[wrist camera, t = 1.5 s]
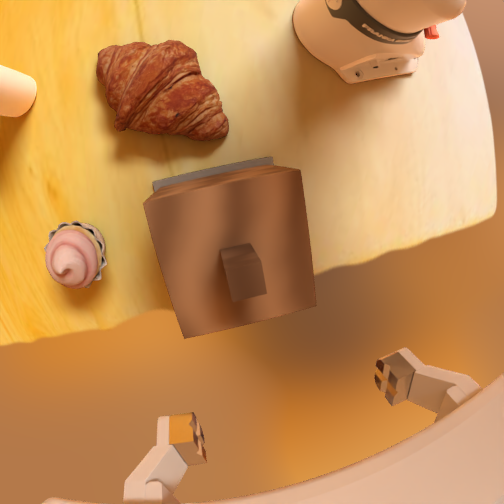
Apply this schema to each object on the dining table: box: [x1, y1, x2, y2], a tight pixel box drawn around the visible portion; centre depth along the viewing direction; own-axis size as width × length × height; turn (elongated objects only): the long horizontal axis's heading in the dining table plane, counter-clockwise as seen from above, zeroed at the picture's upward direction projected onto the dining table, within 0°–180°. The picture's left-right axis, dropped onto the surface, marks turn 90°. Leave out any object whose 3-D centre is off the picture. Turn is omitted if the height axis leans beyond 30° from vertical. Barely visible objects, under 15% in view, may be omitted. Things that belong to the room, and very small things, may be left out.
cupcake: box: [44, 221, 107, 289], centre depth 33 cm, size 9×9×10 cm
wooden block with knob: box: [143, 164, 316, 338], centre depth 31 cm, size 14×14×18 cm
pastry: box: [96, 40, 229, 141], centre depth 30 cm, size 17×15×8 cm
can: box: [0, 65, 37, 117], centre depth 23 cm, size 6×6×12 cm
